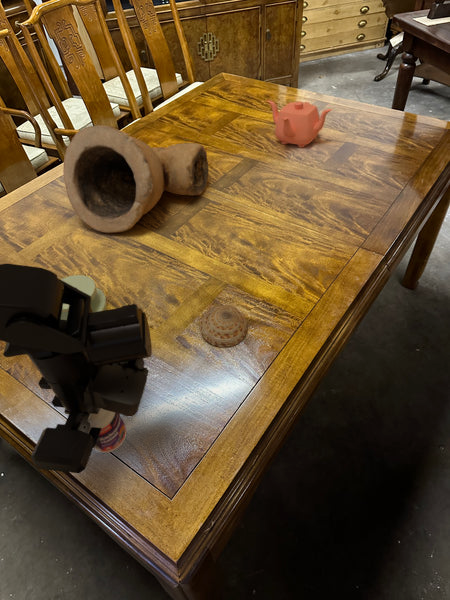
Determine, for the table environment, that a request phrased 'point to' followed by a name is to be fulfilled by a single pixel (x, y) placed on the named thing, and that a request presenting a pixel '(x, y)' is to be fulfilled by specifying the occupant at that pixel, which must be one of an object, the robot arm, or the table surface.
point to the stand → (89, 288)
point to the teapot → (297, 122)
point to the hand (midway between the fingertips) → (104, 428)
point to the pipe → (127, 176)
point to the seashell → (223, 326)
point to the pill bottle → (108, 429)
